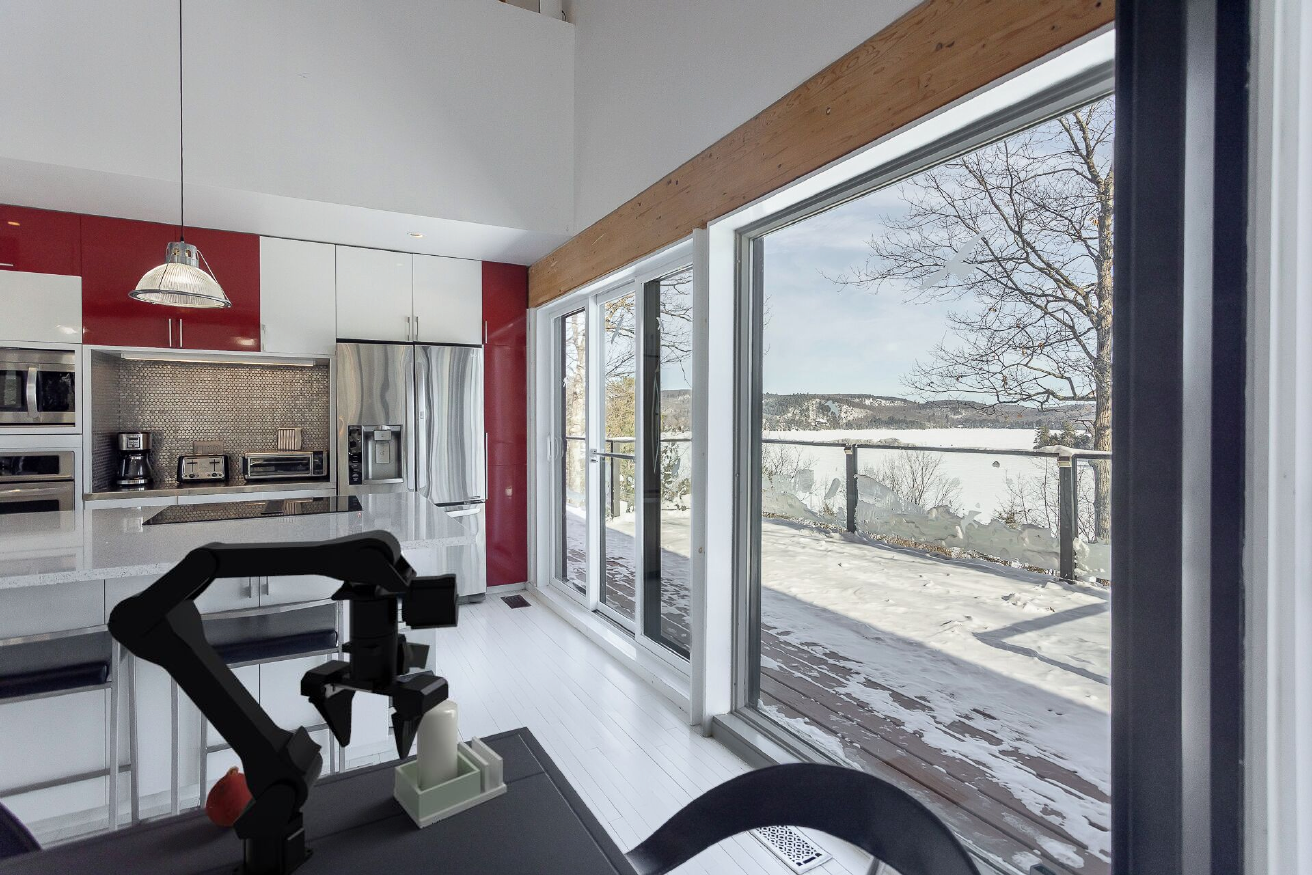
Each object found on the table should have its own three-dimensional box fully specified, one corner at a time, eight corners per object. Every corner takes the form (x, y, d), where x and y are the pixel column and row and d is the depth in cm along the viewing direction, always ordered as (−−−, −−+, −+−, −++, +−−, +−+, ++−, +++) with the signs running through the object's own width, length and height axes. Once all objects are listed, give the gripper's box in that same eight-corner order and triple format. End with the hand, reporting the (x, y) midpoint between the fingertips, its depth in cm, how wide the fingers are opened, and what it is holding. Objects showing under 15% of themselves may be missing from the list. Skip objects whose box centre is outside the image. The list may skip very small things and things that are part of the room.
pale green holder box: (420, 828, 86) (420, 792, 86) (393, 795, 94) (393, 762, 94) (506, 792, 95) (506, 759, 95) (475, 764, 103) (476, 734, 102)
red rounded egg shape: (231, 842, 83) (231, 782, 83) (194, 836, 84) (194, 776, 84) (267, 815, 89) (266, 759, 89) (232, 810, 90) (231, 754, 90)
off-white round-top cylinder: (412, 805, 90) (412, 718, 90) (422, 782, 96) (422, 700, 95) (452, 803, 91) (453, 716, 90) (460, 780, 96) (461, 699, 96)
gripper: (474, 620, 86) (473, 734, 86) (362, 606, 92) (362, 713, 92) (419, 648, 75) (419, 778, 76) (296, 630, 81) (297, 751, 81)
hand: (374, 751), depth 81 cm, fingers open, 9 cm apart
